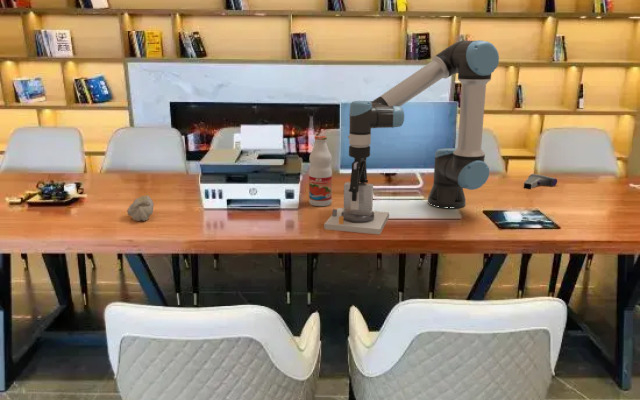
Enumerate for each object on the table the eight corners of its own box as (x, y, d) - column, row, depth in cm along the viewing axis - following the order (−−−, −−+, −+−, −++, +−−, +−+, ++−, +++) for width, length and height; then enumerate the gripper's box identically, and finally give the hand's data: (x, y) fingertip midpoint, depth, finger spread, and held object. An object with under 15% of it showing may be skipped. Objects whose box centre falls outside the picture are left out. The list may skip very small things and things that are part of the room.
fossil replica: (135, 225, 195) (161, 221, 202) (136, 204, 193) (161, 200, 200) (121, 215, 203) (145, 212, 210) (121, 194, 201) (146, 192, 208)
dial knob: (376, 213, 202) (378, 181, 198) (370, 223, 191) (371, 189, 187) (345, 210, 205) (346, 179, 201) (338, 220, 194) (338, 187, 190)
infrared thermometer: (521, 190, 248) (530, 181, 259) (548, 194, 241) (557, 185, 253) (521, 180, 247) (531, 172, 258) (549, 185, 240) (558, 176, 251)
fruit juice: (334, 201, 225) (335, 134, 217) (328, 207, 217) (329, 138, 209) (312, 199, 228) (312, 133, 220) (306, 205, 219) (305, 137, 211)
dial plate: (388, 217, 205) (389, 206, 204) (379, 234, 187) (380, 222, 185) (338, 212, 210) (338, 201, 209) (324, 229, 192) (324, 217, 191)
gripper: (356, 139, 202) (355, 195, 208) (341, 151, 180) (340, 213, 186) (376, 140, 200) (374, 196, 206) (363, 152, 178) (361, 214, 184)
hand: (358, 204), depth 196 cm, fingers open, 11 cm apart
